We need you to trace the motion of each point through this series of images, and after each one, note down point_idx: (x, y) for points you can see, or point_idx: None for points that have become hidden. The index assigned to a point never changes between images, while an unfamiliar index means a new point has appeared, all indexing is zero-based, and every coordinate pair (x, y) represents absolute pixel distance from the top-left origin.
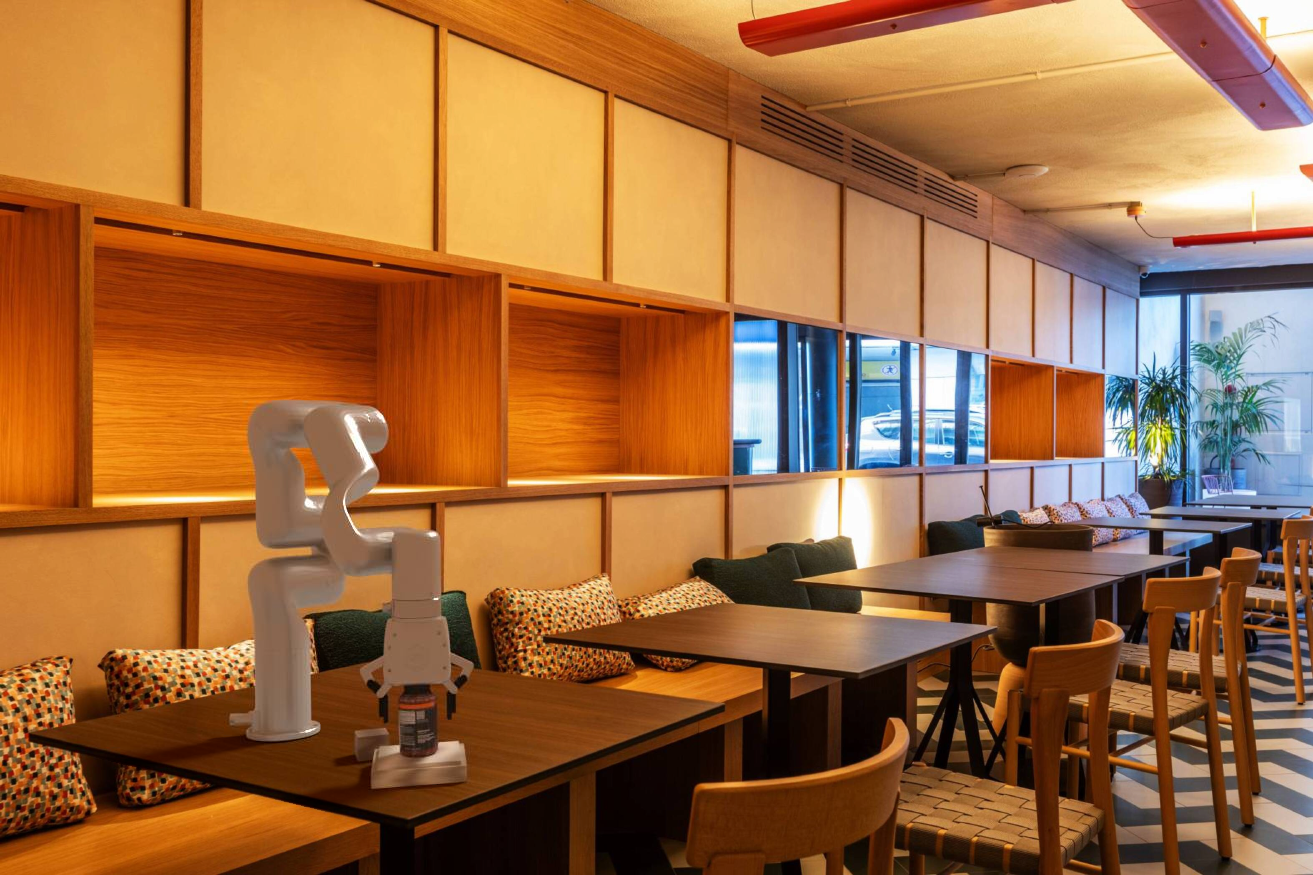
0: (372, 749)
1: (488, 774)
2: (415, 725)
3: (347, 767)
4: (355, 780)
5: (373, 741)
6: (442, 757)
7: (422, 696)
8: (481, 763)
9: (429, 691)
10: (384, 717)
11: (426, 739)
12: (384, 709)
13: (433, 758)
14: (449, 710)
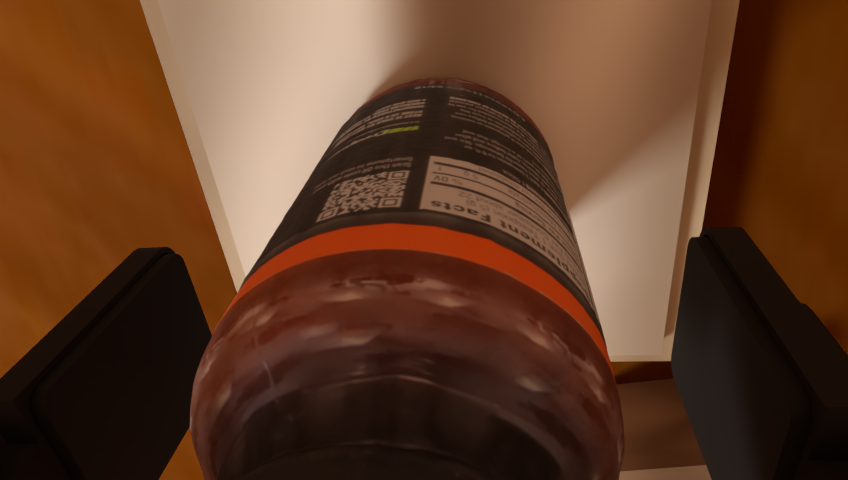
0: (678, 412)
1: (92, 36)
2: (429, 144)
3: (794, 295)
4: (793, 55)
5: (683, 442)
6: (282, 50)
7: (299, 363)
8: (186, 231)
9: (224, 474)
10: (748, 249)
11: (363, 122)
12: (782, 303)
13: (335, 35)
14: (114, 286)
